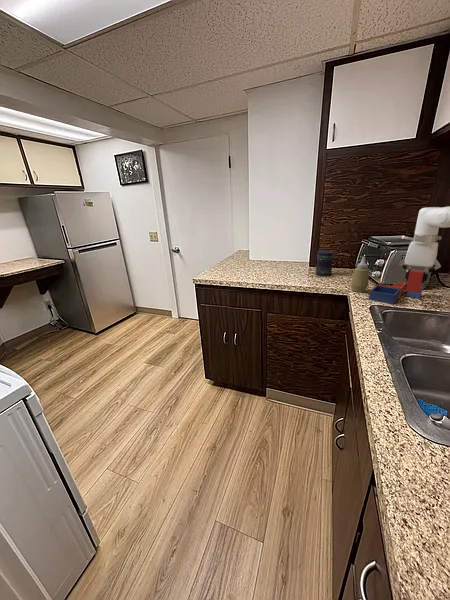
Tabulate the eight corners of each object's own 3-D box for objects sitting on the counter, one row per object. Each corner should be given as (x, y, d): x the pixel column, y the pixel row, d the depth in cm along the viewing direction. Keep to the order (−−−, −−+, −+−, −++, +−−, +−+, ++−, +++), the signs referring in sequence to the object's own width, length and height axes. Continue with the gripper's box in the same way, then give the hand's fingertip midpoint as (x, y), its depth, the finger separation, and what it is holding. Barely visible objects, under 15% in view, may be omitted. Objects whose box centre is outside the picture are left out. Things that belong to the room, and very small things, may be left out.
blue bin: (398, 298, 120) (400, 289, 118) (393, 304, 113) (395, 295, 111) (375, 293, 126) (376, 285, 125) (368, 299, 120) (370, 290, 118)
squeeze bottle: (349, 287, 136) (353, 255, 130) (365, 288, 134) (371, 255, 127) (351, 292, 129) (356, 258, 123) (368, 293, 127) (374, 258, 120)
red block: (420, 290, 110) (425, 270, 107) (418, 292, 107) (423, 272, 104) (407, 288, 113) (412, 268, 110) (405, 290, 110) (409, 271, 107)
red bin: (404, 291, 128) (406, 282, 126) (399, 296, 121) (401, 288, 119) (382, 287, 134) (383, 279, 133) (376, 292, 128) (378, 284, 126)
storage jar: (319, 271, 169) (321, 249, 164) (333, 273, 163) (336, 251, 157) (312, 274, 163) (314, 252, 157) (327, 277, 156) (329, 253, 151)
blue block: (420, 295, 121) (425, 278, 118) (419, 298, 118) (423, 280, 115) (409, 293, 124) (413, 276, 121) (407, 296, 121) (411, 278, 118)
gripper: (452, 238, 99) (441, 282, 105) (402, 237, 110) (394, 276, 117) (450, 241, 94) (439, 286, 100) (398, 239, 106) (390, 280, 112)
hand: (415, 280), depth 108 cm, fingers closed on red block, 4 cm apart
